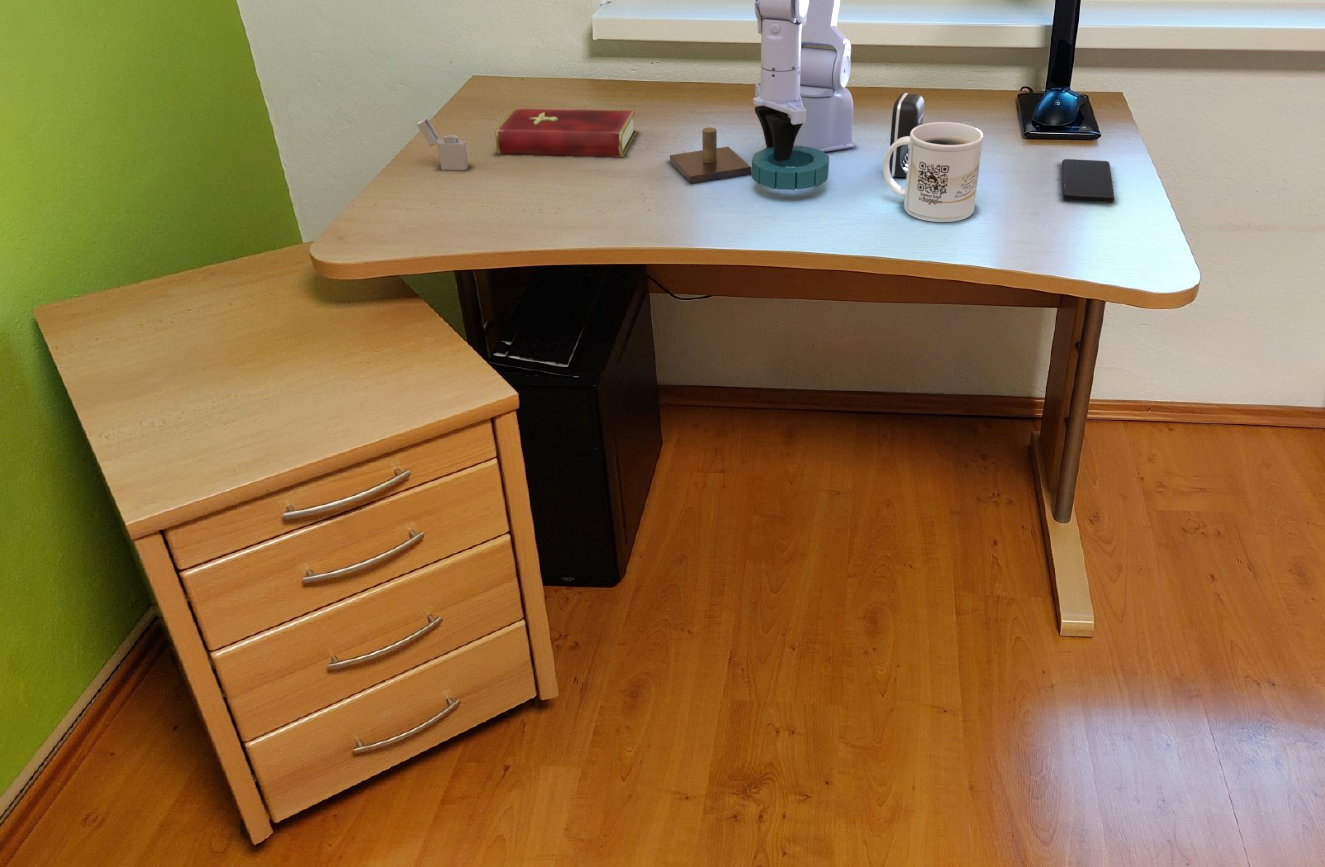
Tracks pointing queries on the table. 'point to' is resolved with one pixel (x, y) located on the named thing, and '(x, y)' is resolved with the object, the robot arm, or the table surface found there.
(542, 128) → the hardcover book
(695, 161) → the stand
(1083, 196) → the smartphone
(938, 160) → the mug
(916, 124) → the battery charger
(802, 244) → the table surface
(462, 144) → the lighter
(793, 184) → the ring
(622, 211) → the table surface
